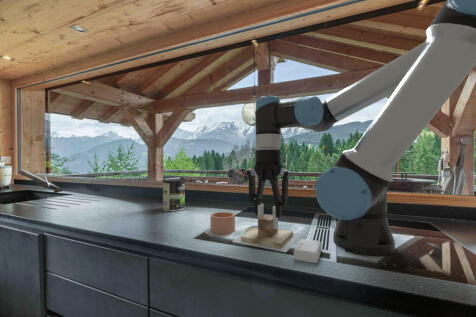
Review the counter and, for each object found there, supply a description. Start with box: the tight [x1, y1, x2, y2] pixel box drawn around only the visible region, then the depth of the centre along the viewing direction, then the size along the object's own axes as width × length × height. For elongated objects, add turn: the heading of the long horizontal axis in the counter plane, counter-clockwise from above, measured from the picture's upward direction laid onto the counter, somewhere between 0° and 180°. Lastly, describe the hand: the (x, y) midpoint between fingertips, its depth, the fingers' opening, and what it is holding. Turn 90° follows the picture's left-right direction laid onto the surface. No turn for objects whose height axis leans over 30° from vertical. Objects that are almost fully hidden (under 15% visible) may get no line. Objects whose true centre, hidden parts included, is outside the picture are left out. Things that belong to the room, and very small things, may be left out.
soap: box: [293, 238, 322, 264], centre depth 58 cm, size 9×6×3 cm, turn 155°
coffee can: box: [162, 178, 186, 212], centre depth 112 cm, size 10×10×14 cm
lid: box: [240, 214, 294, 248], centre depth 70 cm, size 12×12×6 cm
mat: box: [231, 226, 302, 253], centre depth 70 cm, size 16×16×1 cm
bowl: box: [210, 211, 236, 235], centre depth 78 cm, size 8×8×6 cm
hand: (268, 226), depth 70 cm, fingers closed on lid, 4 cm apart
